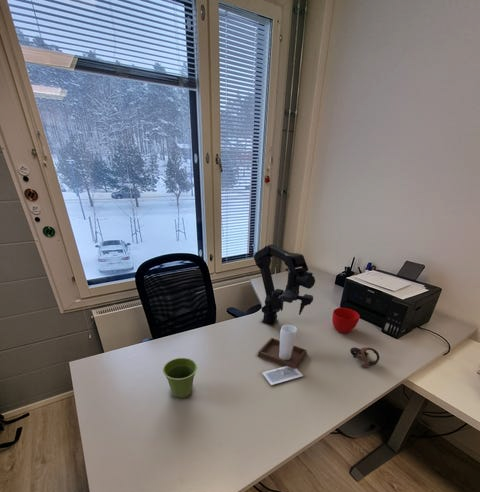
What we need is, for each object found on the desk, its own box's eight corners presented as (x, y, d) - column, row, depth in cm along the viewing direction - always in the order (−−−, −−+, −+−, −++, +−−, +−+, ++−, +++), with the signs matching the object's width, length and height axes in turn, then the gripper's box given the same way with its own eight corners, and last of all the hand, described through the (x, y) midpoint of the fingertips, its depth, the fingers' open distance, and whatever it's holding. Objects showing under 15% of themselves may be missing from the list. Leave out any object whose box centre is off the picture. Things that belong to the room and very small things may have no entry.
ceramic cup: (346, 320, 152) (350, 304, 147) (359, 336, 137) (364, 319, 132) (324, 320, 151) (327, 304, 146) (334, 336, 136) (338, 319, 131)
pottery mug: (372, 357, 123) (382, 349, 116) (369, 374, 119) (380, 368, 111) (347, 346, 125) (356, 338, 117) (343, 363, 120) (352, 357, 113)
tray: (258, 356, 120) (258, 351, 119) (271, 341, 130) (271, 337, 129) (294, 370, 112) (295, 365, 111) (305, 354, 123) (306, 349, 121)
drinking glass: (295, 358, 119) (300, 329, 111) (285, 363, 115) (289, 334, 108) (284, 350, 123) (288, 322, 116) (274, 356, 120) (277, 327, 112)
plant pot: (183, 408, 93) (181, 384, 87) (159, 394, 98) (155, 370, 92) (204, 388, 102) (203, 365, 96) (181, 376, 107) (179, 353, 101)
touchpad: (302, 377, 109) (303, 373, 108) (270, 387, 104) (271, 383, 103) (292, 366, 115) (293, 362, 114) (261, 374, 110) (262, 370, 109)
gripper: (267, 283, 121) (266, 314, 128) (308, 291, 113) (304, 323, 120) (277, 277, 129) (275, 306, 137) (315, 283, 121) (311, 314, 128)
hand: (290, 312), depth 130 cm, fingers open, 9 cm apart
